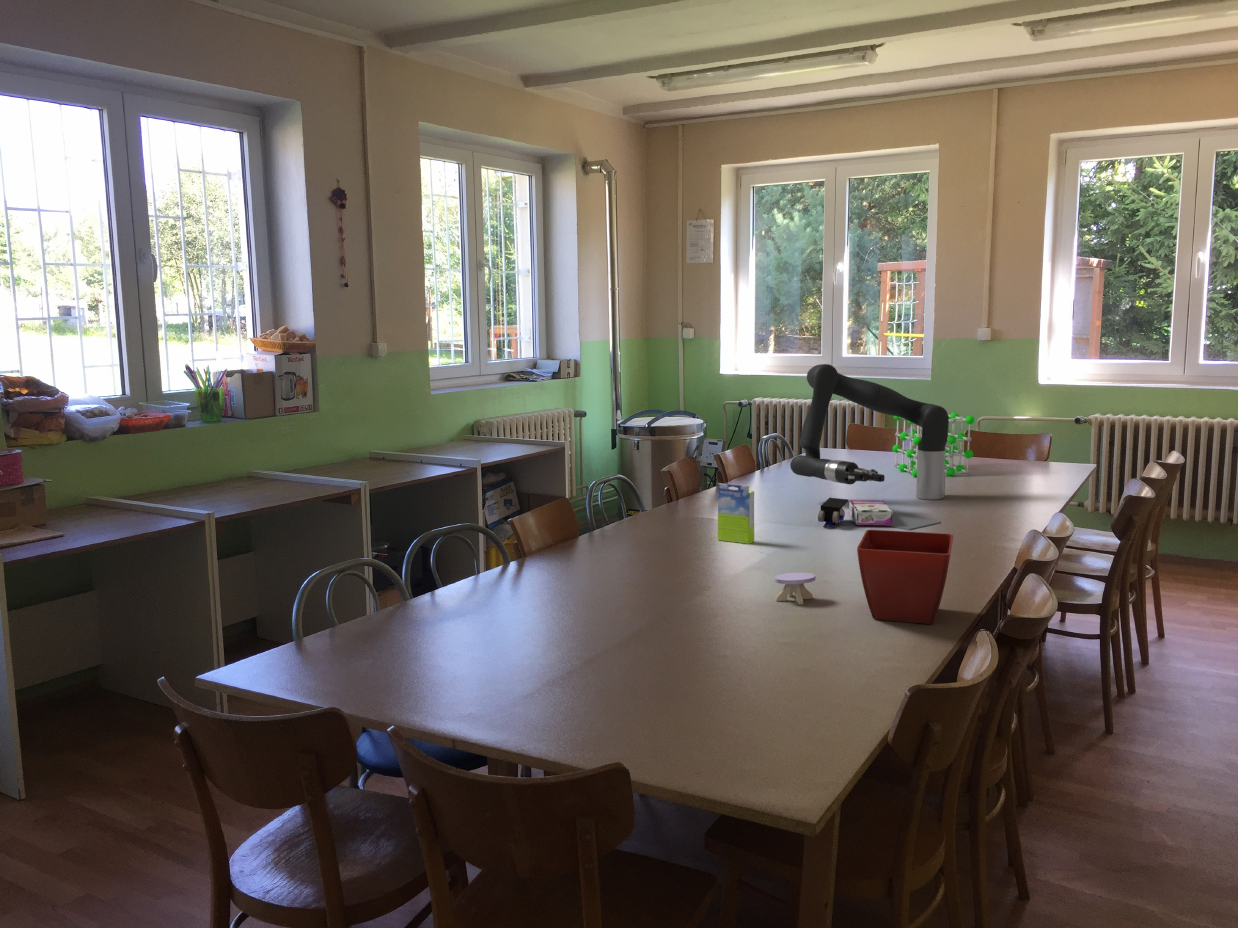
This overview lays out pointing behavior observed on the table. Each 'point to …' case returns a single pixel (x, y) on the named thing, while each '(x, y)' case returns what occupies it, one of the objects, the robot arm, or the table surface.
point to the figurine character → (832, 511)
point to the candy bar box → (870, 512)
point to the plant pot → (904, 573)
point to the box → (735, 514)
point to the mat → (910, 522)
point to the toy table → (794, 586)
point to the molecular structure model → (917, 436)
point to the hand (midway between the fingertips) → (883, 478)
